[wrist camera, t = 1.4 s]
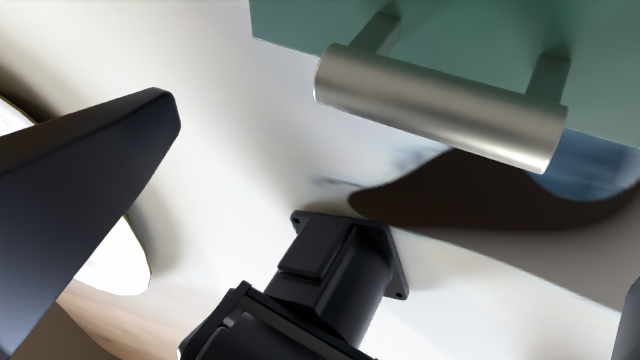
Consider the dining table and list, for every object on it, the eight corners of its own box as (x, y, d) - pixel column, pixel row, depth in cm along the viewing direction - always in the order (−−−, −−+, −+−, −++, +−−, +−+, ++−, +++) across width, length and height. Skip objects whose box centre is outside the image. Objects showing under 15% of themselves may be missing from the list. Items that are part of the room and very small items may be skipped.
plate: (-158, -22, 38) (-185, -12, 37) (159, 166, 35) (141, 184, 34) (-35, 191, 61) (-49, 202, 60) (164, 316, 58) (153, 330, 57)
